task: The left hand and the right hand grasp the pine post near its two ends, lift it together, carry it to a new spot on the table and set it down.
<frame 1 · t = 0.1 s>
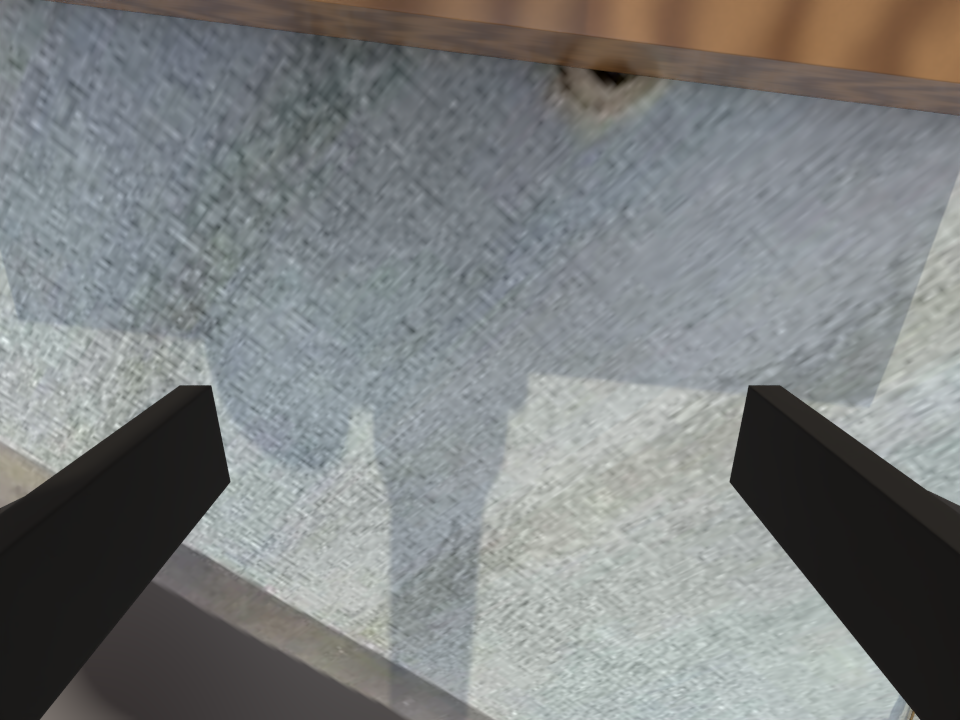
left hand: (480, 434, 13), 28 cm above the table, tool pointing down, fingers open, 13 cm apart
post: (478, 11, 33), on the table
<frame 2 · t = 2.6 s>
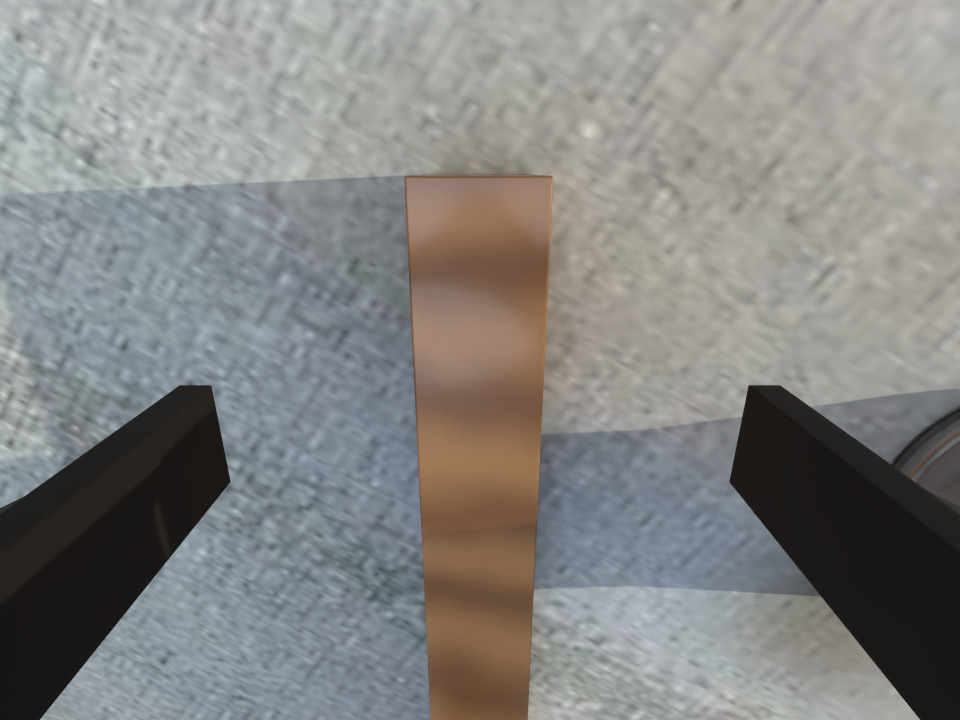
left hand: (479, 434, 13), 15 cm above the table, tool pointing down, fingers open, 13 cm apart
post: (479, 691, 37), on the table, touching right hand
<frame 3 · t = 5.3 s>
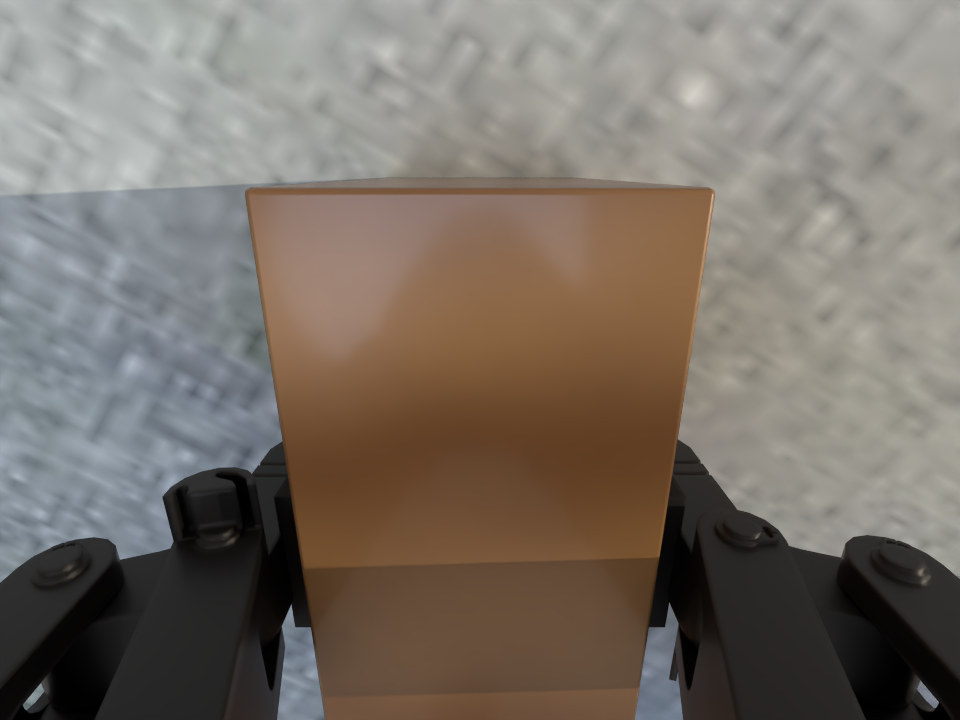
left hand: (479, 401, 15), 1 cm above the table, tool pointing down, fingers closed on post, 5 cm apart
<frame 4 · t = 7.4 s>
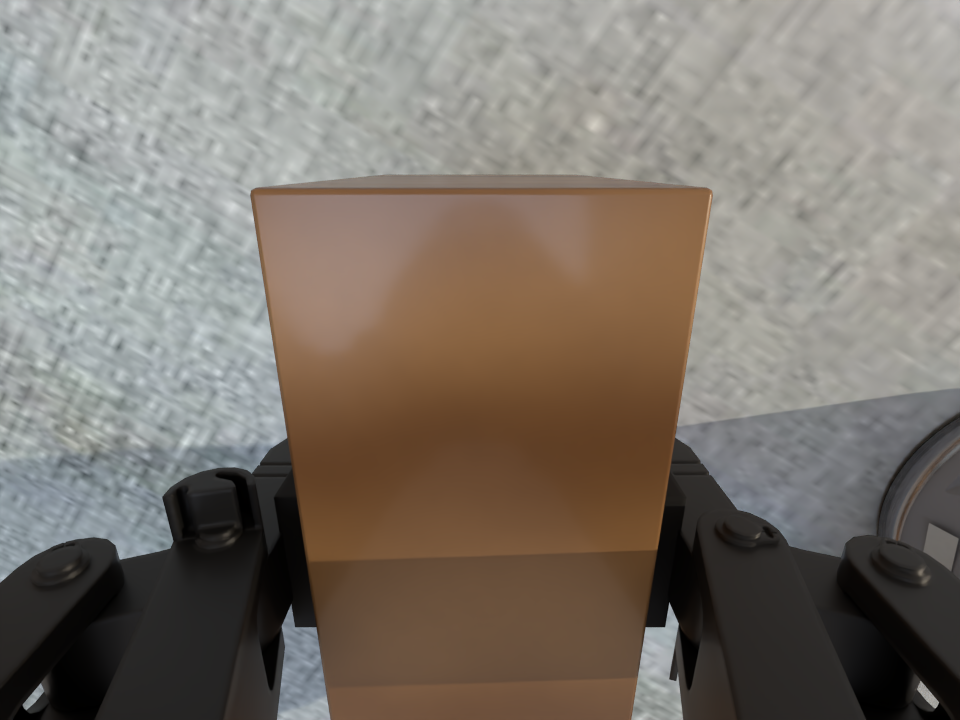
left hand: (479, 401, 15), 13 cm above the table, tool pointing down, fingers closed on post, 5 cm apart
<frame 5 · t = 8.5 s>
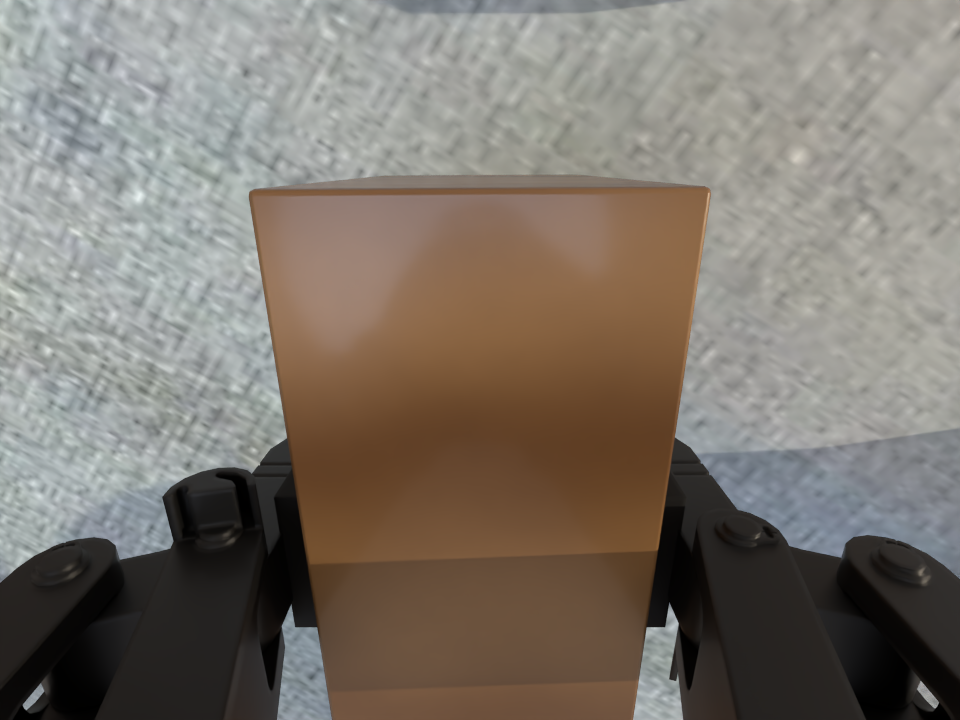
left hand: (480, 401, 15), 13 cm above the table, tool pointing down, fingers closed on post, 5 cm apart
when the left hand's fingers open (1 cm above the table, at t = 11.9 s): post stays where it is, on the table.
when the right hand's fingers open (4 cm above the table, at t = 12.1 s): post stays where it is, on the table.
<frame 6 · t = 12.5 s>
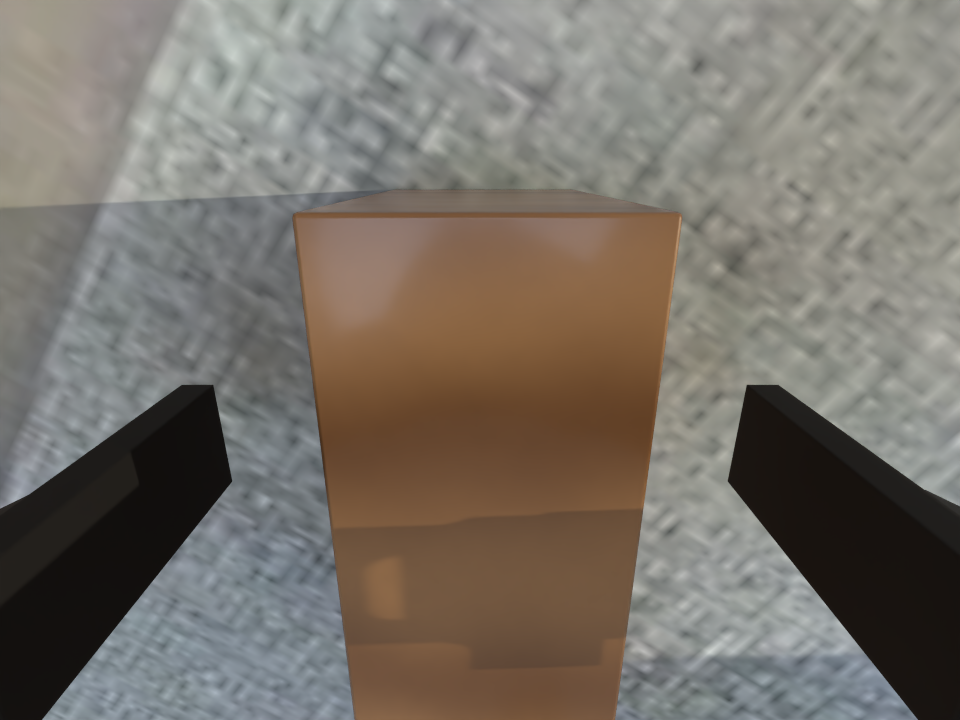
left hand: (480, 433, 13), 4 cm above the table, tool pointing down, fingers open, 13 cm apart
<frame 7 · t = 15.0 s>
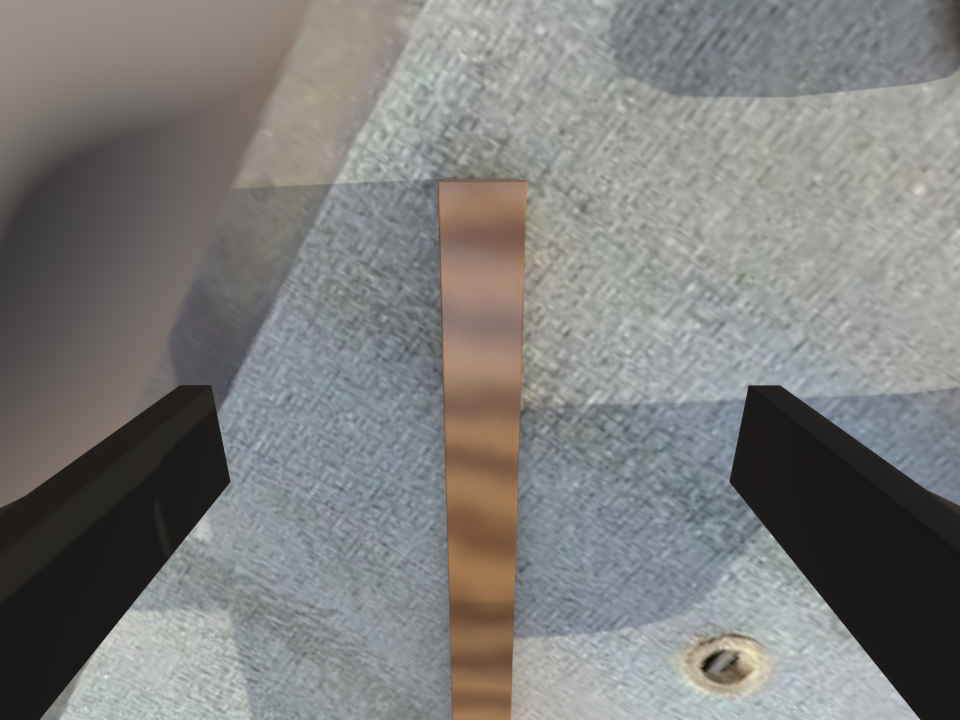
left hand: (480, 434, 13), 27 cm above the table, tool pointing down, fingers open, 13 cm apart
post: (481, 572, 48), on the table
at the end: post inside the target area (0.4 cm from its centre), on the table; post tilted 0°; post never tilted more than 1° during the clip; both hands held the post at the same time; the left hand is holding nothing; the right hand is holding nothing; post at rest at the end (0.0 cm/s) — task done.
